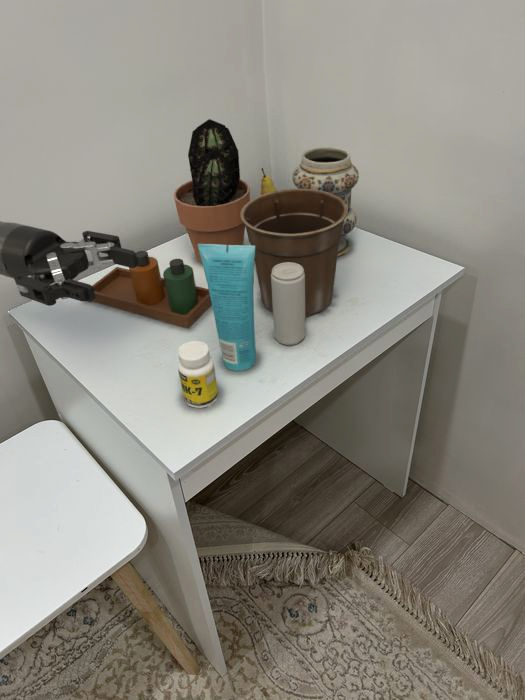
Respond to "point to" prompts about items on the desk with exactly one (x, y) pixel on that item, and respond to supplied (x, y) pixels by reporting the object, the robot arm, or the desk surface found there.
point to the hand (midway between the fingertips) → (115, 276)
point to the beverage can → (288, 302)
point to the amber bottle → (147, 280)
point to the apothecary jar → (330, 180)
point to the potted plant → (213, 189)
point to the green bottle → (180, 287)
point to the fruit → (267, 184)
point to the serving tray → (122, 296)
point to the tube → (232, 300)
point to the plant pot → (296, 240)
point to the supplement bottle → (197, 374)
